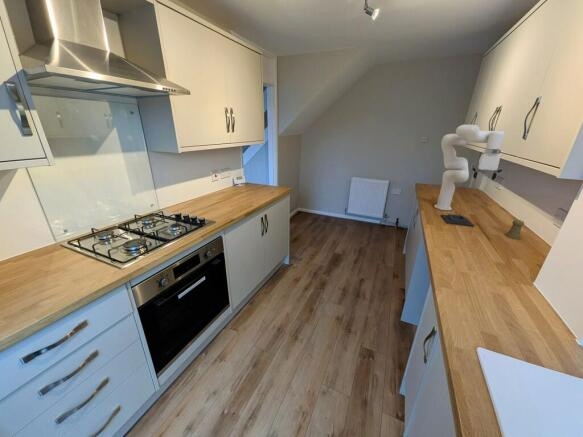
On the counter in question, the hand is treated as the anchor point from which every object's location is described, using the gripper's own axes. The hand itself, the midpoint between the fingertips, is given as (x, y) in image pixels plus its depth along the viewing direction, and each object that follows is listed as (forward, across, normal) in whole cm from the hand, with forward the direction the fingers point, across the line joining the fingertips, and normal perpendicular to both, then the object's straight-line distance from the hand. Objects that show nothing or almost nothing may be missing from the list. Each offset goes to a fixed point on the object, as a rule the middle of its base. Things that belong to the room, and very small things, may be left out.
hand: (483, 178), depth 155 cm
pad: (+32, +8, -3) cm, 33 cm away
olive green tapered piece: (+33, -21, +12) cm, 40 cm away
